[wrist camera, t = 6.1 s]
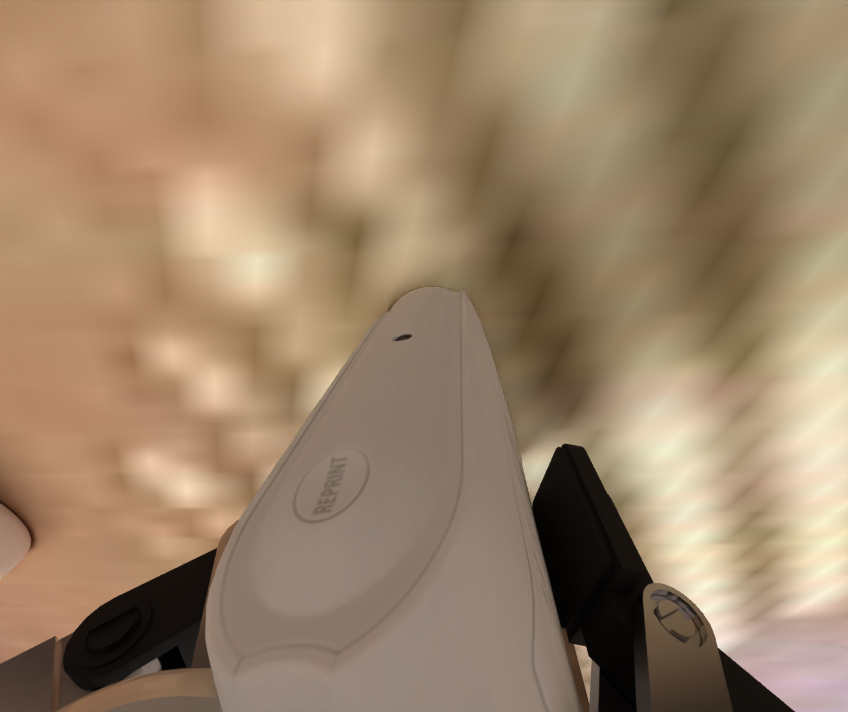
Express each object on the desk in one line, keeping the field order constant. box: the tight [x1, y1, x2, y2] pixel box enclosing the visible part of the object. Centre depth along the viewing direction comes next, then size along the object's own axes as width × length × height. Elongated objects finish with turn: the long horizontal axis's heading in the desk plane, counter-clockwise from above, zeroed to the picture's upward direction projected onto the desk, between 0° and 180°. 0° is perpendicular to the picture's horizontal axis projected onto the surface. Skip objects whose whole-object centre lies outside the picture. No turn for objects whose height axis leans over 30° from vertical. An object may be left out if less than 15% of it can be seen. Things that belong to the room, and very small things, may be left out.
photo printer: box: [205, 287, 584, 712], centre depth 9 cm, size 10×4×12 cm, turn 19°
